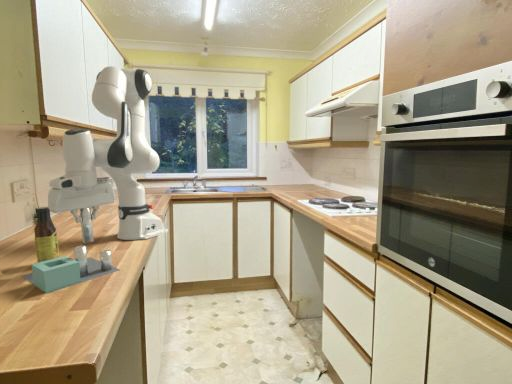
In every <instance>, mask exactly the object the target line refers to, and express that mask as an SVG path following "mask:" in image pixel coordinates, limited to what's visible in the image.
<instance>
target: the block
mask: <svg viewBox="0 0 512 384" xmlns="http://www.w3.org/2000/svg"><path fill="white" fill-rule="evenodd" d="M31 271H32V272H31V273H32V274H33V283H34V285H33V286H35V287H36V286H37V287H36V288H37V289H39V290H40V291H42V292H44V293H45V294H49V293H48V292H50V293H52V292H51V291H54V290H57V289H60V288H63V287H66V286H69V287H71V286H70V285H72V286H74V285H73V284H75V285H77V284H76V283H78V284H80V283H79V282H81V278H80V266H79V262H78V261H76V260H75V259H73V258H71V257H69V256H67V255H64V256H59V258H55V259H51V260H47V261H43V262H39V263H38V262H36V263H32V264H31ZM66 288H67V287H66ZM63 289H64V288H63ZM60 290H61V289H60ZM57 291H58V290H57ZM54 292H55V291H54Z"/></svg>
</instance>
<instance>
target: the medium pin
mask: <svg viewBox="0 0 512 384" xmlns="http://www.w3.org/2000/svg"><path fill="white" fill-rule="evenodd" d="M73 252H74V253H73V254H74V260H76V261H78V262H79V266H80V278H82V277H86V276H88V263H87V258H88V254H87V253H88V252H87V245H84V244H83V245H78V246H74V247H73Z"/></svg>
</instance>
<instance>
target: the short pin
mask: <svg viewBox="0 0 512 384" xmlns="http://www.w3.org/2000/svg"><path fill="white" fill-rule="evenodd" d="M99 259H100V260H99V261H100V263H101V271H109V270H111V269H112V266H113V262H112V251H111V249H103V250H100V251H99Z"/></svg>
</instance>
